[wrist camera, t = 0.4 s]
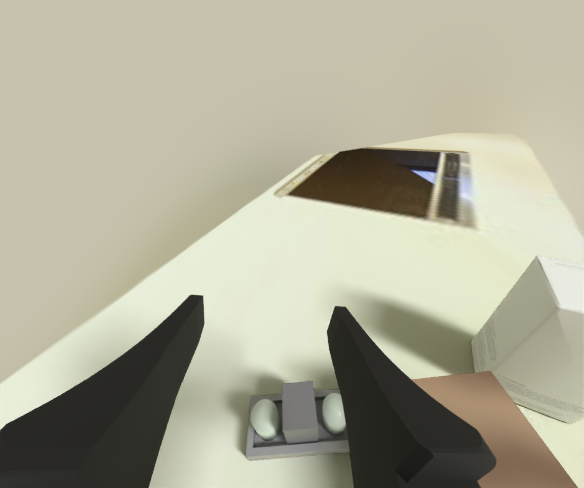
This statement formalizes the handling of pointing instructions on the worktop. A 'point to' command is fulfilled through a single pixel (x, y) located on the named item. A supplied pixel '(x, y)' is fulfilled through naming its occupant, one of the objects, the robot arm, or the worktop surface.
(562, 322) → the skincare box
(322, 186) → the worktop surface
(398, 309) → the worktop surface
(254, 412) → the grey plastic caddy
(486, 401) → the walnut shelf
